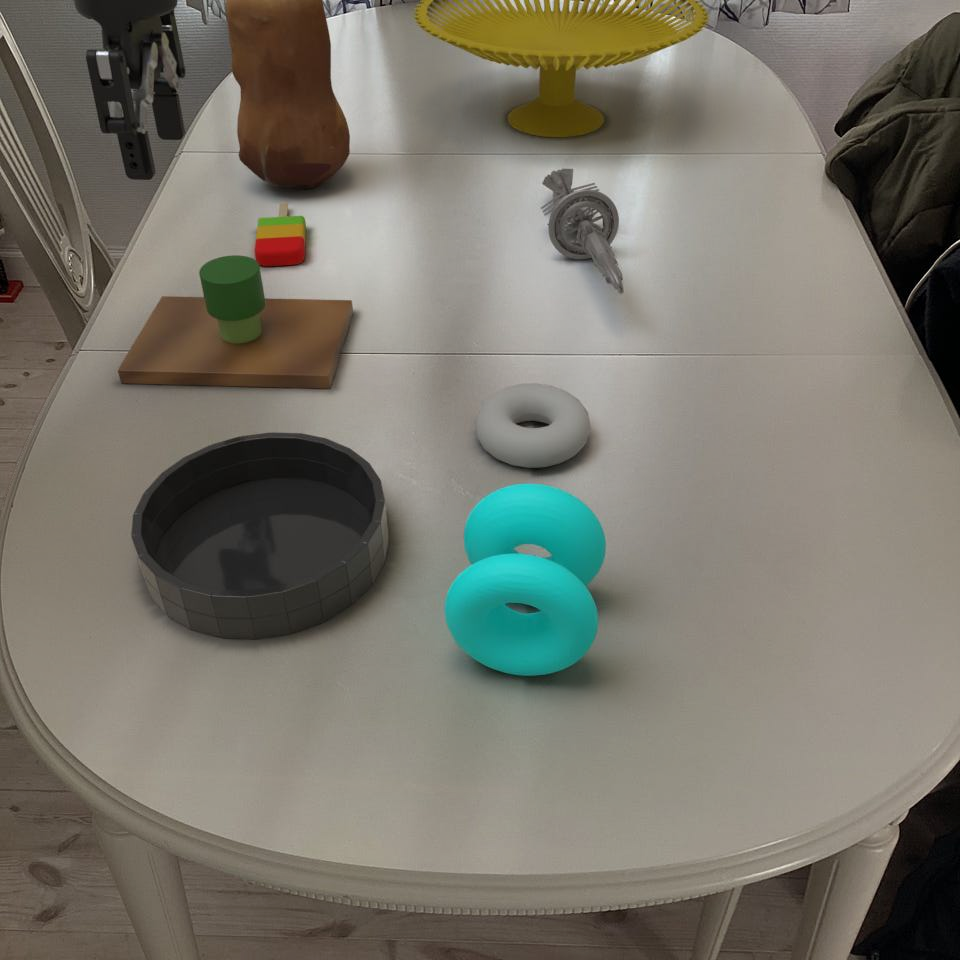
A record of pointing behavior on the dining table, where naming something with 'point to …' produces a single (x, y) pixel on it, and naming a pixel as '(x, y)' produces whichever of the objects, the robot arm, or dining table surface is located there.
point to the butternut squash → (286, 92)
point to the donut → (532, 443)
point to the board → (240, 346)
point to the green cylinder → (234, 296)
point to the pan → (261, 535)
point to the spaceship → (583, 224)
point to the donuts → (527, 581)
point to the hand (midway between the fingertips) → (157, 157)
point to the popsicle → (280, 239)
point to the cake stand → (560, 48)
